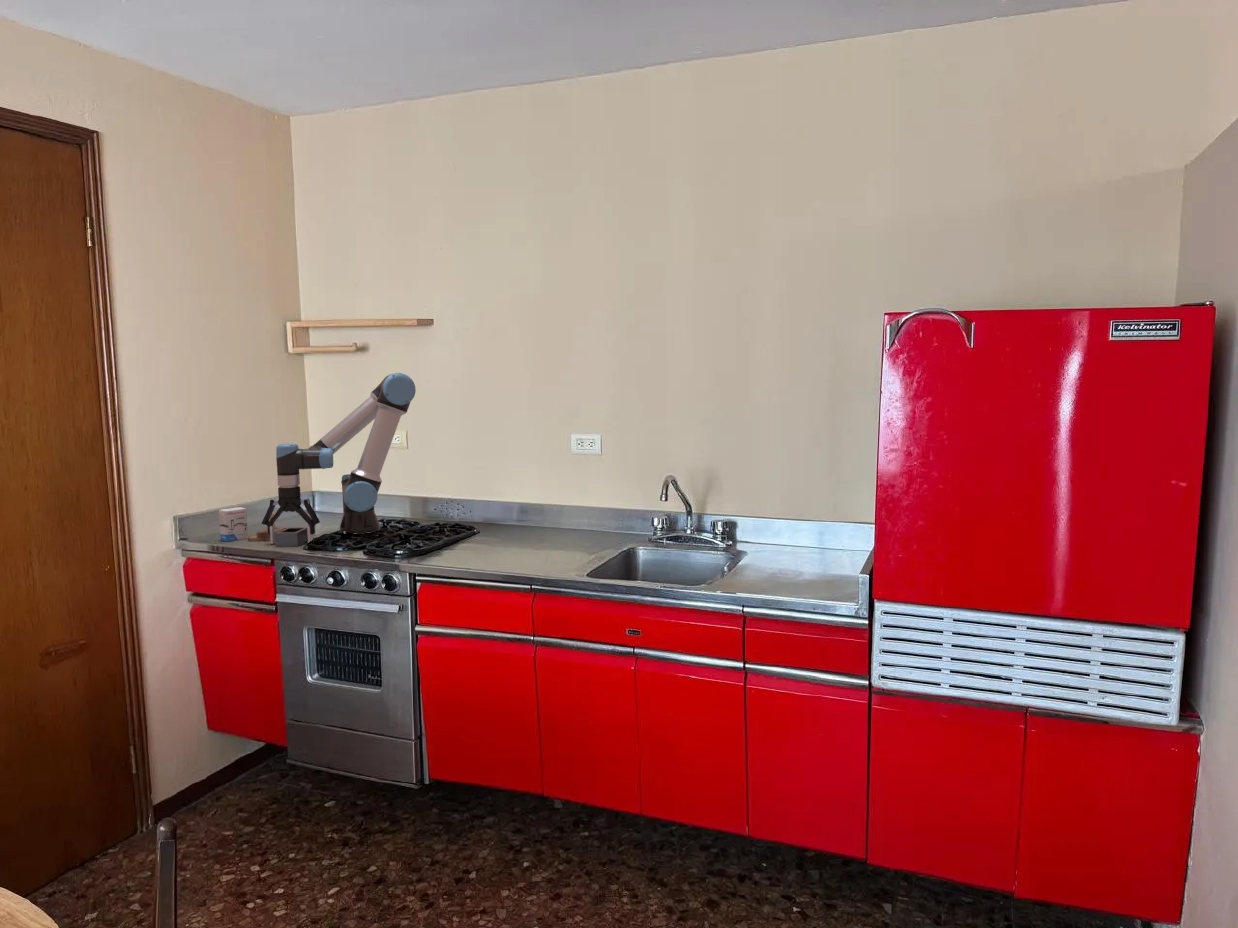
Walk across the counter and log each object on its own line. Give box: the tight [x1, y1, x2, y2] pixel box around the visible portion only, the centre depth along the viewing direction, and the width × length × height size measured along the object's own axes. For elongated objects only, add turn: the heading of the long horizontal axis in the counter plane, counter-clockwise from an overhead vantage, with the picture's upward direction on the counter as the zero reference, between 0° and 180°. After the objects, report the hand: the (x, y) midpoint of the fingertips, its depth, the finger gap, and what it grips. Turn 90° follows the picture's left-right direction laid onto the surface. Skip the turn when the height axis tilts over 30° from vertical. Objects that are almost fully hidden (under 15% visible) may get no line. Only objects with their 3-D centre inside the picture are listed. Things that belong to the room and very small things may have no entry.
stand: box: [247, 527, 287, 542], centre depth 310 cm, size 14×10×3 cm
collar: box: [274, 526, 308, 548], centre depth 300 cm, size 8×11×5 cm
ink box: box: [218, 506, 249, 543], centre depth 309 cm, size 9×5×12 cm, turn 143°
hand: (291, 543), depth 300 cm, fingers open, 13 cm apart
